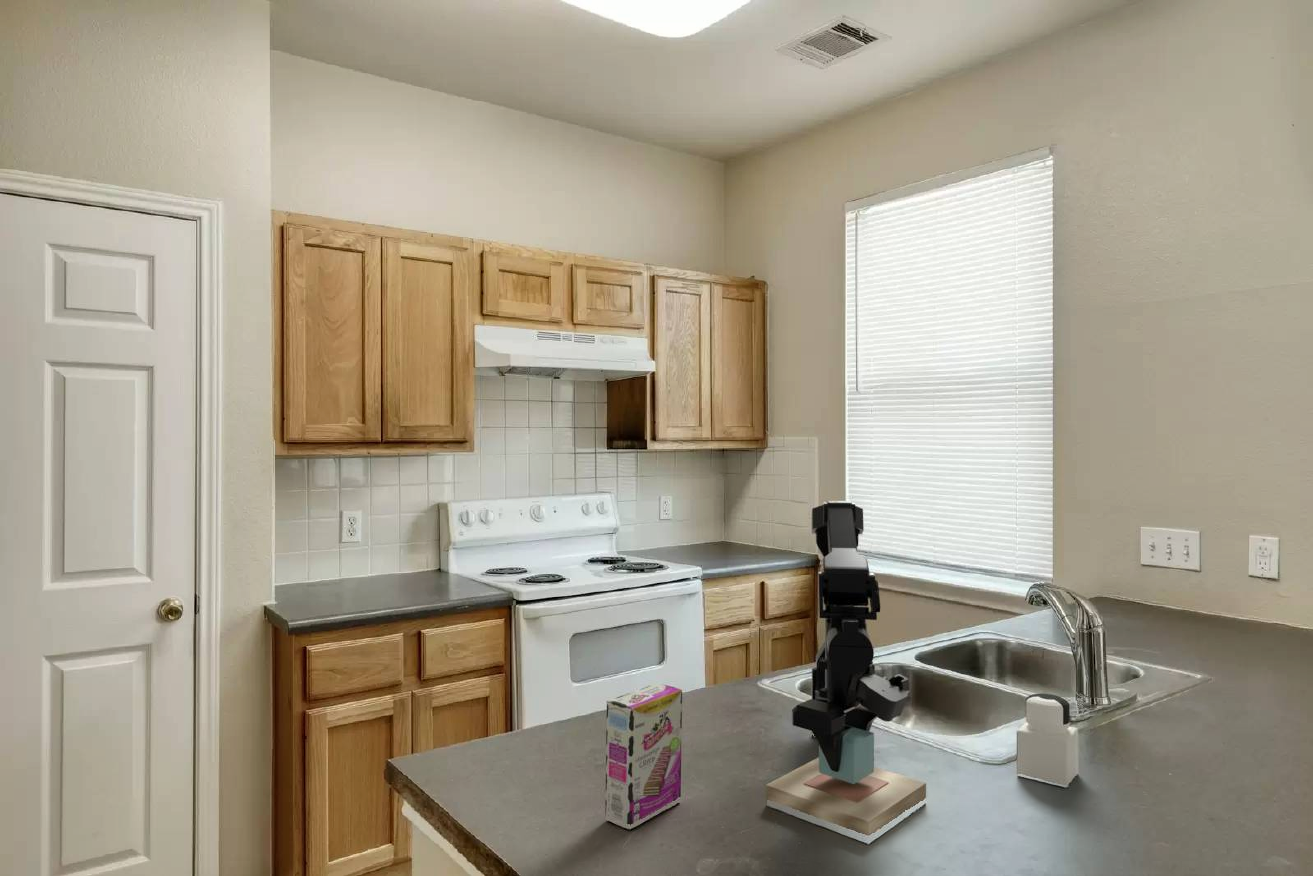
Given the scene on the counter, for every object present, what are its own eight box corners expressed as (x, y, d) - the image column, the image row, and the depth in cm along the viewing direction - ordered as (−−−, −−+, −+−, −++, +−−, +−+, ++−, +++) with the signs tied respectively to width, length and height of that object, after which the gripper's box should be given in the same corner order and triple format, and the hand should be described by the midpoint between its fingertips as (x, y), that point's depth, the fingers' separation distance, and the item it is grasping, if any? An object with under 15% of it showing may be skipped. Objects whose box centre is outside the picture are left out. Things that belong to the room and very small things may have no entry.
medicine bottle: (1029, 762, 130) (1029, 687, 130) (1078, 774, 126) (1078, 696, 126) (1016, 777, 125) (1015, 698, 125) (1067, 789, 120) (1067, 708, 120)
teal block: (819, 772, 115) (818, 733, 115) (839, 761, 119) (839, 723, 119) (853, 784, 112) (853, 743, 112) (874, 772, 116) (874, 733, 115)
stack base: (765, 806, 115) (765, 783, 115) (827, 772, 127) (827, 751, 127) (868, 845, 104) (868, 820, 104) (926, 804, 116) (926, 781, 116)
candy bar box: (632, 833, 107) (631, 708, 107) (604, 822, 111) (603, 700, 111) (684, 803, 116) (683, 687, 116) (656, 794, 119) (656, 681, 119)
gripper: (863, 680, 103) (863, 804, 103) (930, 651, 117) (930, 761, 117) (789, 663, 111) (789, 778, 111) (860, 638, 124) (860, 741, 124)
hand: (846, 764), depth 115 cm, fingers closed on teal block, 5 cm apart
